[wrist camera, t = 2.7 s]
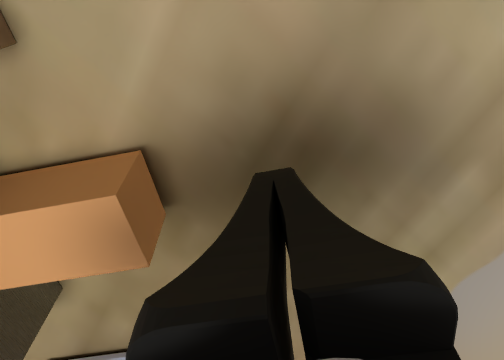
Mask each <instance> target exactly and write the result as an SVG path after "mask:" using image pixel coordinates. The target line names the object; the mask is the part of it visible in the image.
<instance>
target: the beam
mask: <svg viewBox="0 0 504 360" xmlns="http://www.w3.org/2000/svg"><path fill="white" fill-rule="evenodd" d="M61 291H62V287H61V286H60V284H59V283H58V281H54V282H48V283H41V284H35V285H28V286H22V287H15V288H9V289H3V290H0V360H23V359H24V357H25V355H26V353H27V352H28V350H29V348H30V346H31V344H32V343H33V341H34V339H35V337H36V335H37V334H38V332H39V330H40V328H41V326H42V325H43V323H44V321H45V319H46V318H47V316H48V314H49V312H50V310H51V309H52V307H53V305H54V303H55V301H56V300H57V298H58V296H59V294H60V293H61Z"/></svg>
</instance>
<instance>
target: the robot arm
mask: <svg viewBox="0 0 504 360" xmlns="http://www.w3.org/2000/svg"><path fill="white" fill-rule="evenodd" d="M285 242H286V246H287V250H288V254H289V258H290V268H291V280H292V290H293V295H294V300H295V305H296V310H297V315H298V320H299V325H300V330H301V336H302V341H303V346H304V351H305V357H306V360H461V359H460V357H459V355H458V353H457V351H456V349H455V348H454V340H455V333H456V327H457V321H458V308H457V305H456V303H455V301H454V299H453V298H452V296H451V294H450V292H449V290H448V289H447V287H446V286H445V284H444V283H443V282H442V281H441V279H440V278H439V277H438V276H437V274H436V273H435V272H434V271H433V269H432V268H431V267H430V266H429V265H428V263H427V262H426V261H425V260H424V259H422V258H419V257H416V256H413V255H410V254H407V253H405V252H402V251H399V250H396V249H393V248H391V247H389V246H387V245H384V244H382V243H380V242H378V241H375V240H373V239H371V238H370V237H368V236H366V235H364V234H362V233H361V232H359V231H357V230H355V229H354V228H352V227H351V226H349V225H348V224H346V223H345V222H343V221H342V220H341V219H339V218H338V217H337V216H335V215H334V214H333V213H332V212H330V211H329V210H328V209H327V208H326V207H325V206H324V205H323V204H321V203H320V202H319V201H318V200H317V199H316V198H315V197H314V196H313V194H312V193H311V192H310V191H309V190H308V189H307V188H306V187H305V185H304V184H303V183H302V182H301V180H300V179H299V177H298V176H297V174H296V173H295V171H294V169H292V168H291V167H290V168H284V169H278V170H272V171H267V172H261V173H255V175H254V176H253V178H252V181H251V183H250V186H249V188H248V190H247V192H246V194H245V196H244V198H243V200H242V202H241V204H240V206H239V207H238V209H237V211H236V212H235V214H234V216H233V217H232V219H231V220H230V222H229V223H228V225H227V226H226V228H225V229H224V231H223V232H222V233H221V235H220V236H219V237H218V238H217V239H216V241H215V242H214V243H213V244H212V245H211V246H210V247H209V248H208V249H207V250H206V251H205V252H204V254H203V255H202V256H201V257H200V258H199V259H198V260H197V261H195V262H194V263H193V264H192V265H191V266H190V267H189V268H188V269H186V270H185V271H184V272H183V273H181V274H180V275H179V276H178V277H177V278H175V279H174V280H173V281H171V282H170V283H168V284H167V285H166V286H164V287H163V288H161V289H160V290H158V291H157V292H155V293H154V294H153V295H151V296H150V297H148V298H146V299H145V301H144V304H143V306H142V308H141V311H140V313H139V315H138V318H137V320H136V323H135V326H134V329H133V332H132V336H131V339H130V342H129V345H128V349H127V352H123V353H115V354H108V355H100V356H93V357H85V358H78V359H70V360H294V355H293V347H292V339H291V331H290V324H289V316H288V307H287V288H286V248H285Z"/></svg>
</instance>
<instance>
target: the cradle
mask: <svg viewBox="0 0 504 360" xmlns="http://www.w3.org/2000/svg"><path fill="white" fill-rule="evenodd" d="M13 44H16V41H15V39H14V37H13V35H12V33H11V31H10V29H9V27H8V25H7V24H6V22H5V20H4V18H3V16H2V14H1V12H0V49H2V48H5V47H7V46H10V45H13Z"/></svg>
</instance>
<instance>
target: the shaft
mask: <svg viewBox="0 0 504 360" xmlns="http://www.w3.org/2000/svg"><path fill="white" fill-rule="evenodd" d="M165 215H166V213H165V211H164V208H163V206H162V203H161V201H160V198H159V196H158V193H157V190H156V188H155V185H154V183H153V180H152V178H151V175H150V173H149V170H148V168H147V165H146V163H145V160H144V158H143V155H142V153H141V150H139V151H134V152H129V153H123V154H118V155H112V156H107V157H101V158H96V159H91V160H85V161H80V162H74V163H69V164H64V165H58V166H53V167H47V168H42V169H37V170H31V171H26V172H20V173H15V174H10V175H4V176H0V290H3V289H9V288H15V287H22V286H28V285H35V284H41V283H48V282H54V281H61V280H67V279H74V278H80V277H87V276H93V275H100V274H106V273H113V272H119V271H125V270H132V269H138V268H145V267H149V266H150V263H151V259H152V256H153V253H154V250H155V247H156V244H157V241H158V237H159V234H160V231H161V228H162V225H163V222H164V219H165Z"/></svg>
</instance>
